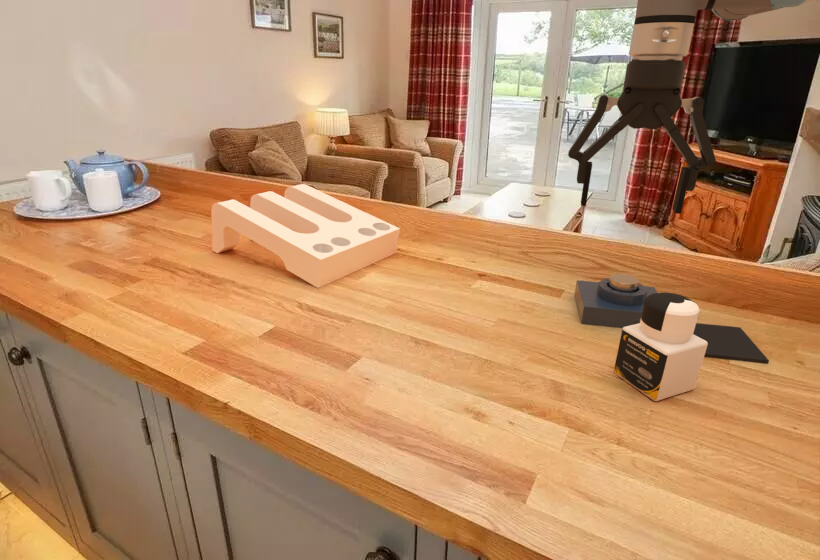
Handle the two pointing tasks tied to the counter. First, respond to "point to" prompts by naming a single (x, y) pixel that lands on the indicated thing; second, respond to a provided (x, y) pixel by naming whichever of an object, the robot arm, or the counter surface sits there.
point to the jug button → (623, 283)
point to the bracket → (306, 232)
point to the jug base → (609, 304)
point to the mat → (729, 343)
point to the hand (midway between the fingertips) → (628, 207)
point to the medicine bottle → (662, 347)
